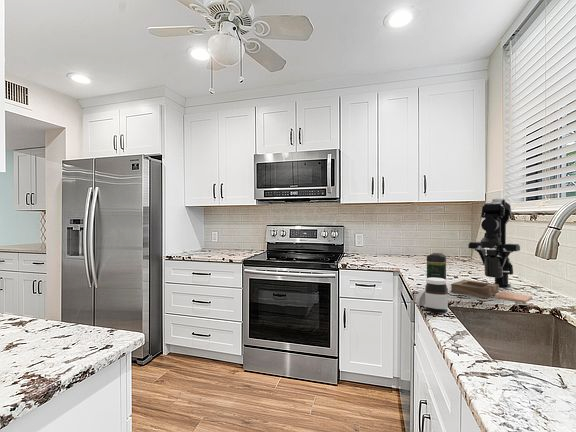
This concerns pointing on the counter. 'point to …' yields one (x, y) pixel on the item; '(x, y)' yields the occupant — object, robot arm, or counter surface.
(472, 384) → the counter surface
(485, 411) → the counter surface
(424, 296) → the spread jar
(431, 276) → the coffee jar
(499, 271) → the supplement bottle
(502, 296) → the terracotta coaster
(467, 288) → the walnut caddy
